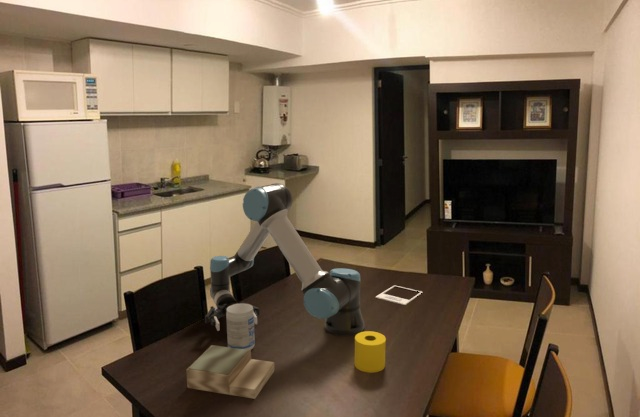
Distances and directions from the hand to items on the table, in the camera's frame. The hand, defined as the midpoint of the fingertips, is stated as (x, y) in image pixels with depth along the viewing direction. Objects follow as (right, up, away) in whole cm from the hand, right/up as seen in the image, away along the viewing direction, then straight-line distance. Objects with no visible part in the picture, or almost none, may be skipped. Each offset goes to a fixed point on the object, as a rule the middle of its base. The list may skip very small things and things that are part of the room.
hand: (237, 323), depth 170 cm
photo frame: (+65, +1, +48) cm, 81 cm away
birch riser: (+2, -12, -21) cm, 24 cm away
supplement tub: (+1, -8, 0) cm, 8 cm away
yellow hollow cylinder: (+46, -11, -12) cm, 49 cm away
